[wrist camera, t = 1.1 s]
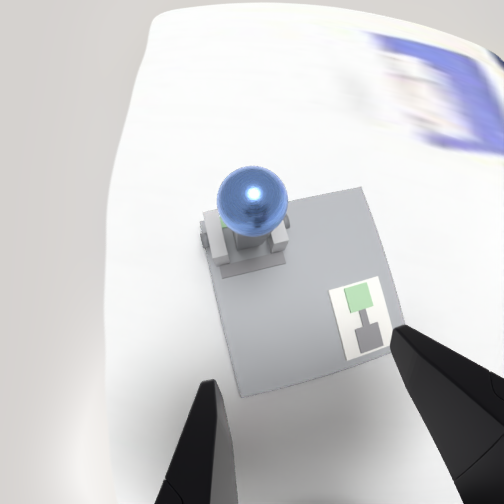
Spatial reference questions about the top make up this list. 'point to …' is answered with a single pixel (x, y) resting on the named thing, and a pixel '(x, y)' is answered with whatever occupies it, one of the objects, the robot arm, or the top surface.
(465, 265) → the top surface
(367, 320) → the switch panel
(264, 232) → the lever
